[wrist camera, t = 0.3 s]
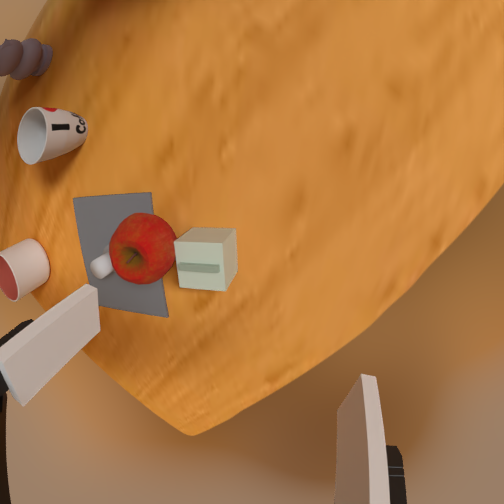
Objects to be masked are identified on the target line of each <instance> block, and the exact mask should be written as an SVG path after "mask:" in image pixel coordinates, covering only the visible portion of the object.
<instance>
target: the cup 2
mask: <svg viewBox="0 0 504 504" xmlns="http://www.w3.org/2000/svg"><path fill="white" fill-rule="evenodd" d="M87 133H88V125H87V122H86V120H85V119H84V118H83V117H81V116H79V115H77V114H75V113H73V112H69V111H65V110H61V109H57V108H43V107H32V108H30V109H29V110H28V111H27V112H26V113H25V114H24V116H23V117H22V120H21V122H20V125H19V129H18V136H17V144H18V150H19V153H20V156H21V158H22V159H23V161H24V162H25V163H27V164H35V163H38V162H42V161H46V160H49V159H53V158H56V157H58V156H60V155H63V154H66V153H68V152H70V151H72V150H74V149H75V148H77V147H79V146H80V145H82V144H83V143H84V141H85V140H86V137H87Z"/></svg>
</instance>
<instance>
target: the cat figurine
mask: <svg viewBox="0 0 504 504" xmlns="http://www.w3.org/2000/svg"><path fill="white" fill-rule="evenodd" d="M52 53H53V51H52V48H51V46H49V45H44V44H42V45H41V43H40V42H39V41H38V40H37V39H32V38H30V39H27V40H24V41H23V42H20V41H18V40H7V39H5V41H4V43H3V44H2V45H0V76H6V75H8V74H10V76H11V77H12V78H13V79H16V80H21V79H24V78H26V77H28V76H29V75H33V76H40V75H42V74H43V73H44V72H45V71H46V70H47V68H48V67H49V65H50V62H51V59H52Z"/></svg>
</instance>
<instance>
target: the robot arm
mask: <svg viewBox="0 0 504 504" xmlns="http://www.w3.org/2000/svg"><path fill="white" fill-rule="evenodd" d="M100 331H101V330H100V320H99V308H98V292H97V288H95V287H93V286H91V285H89V284H87V283H86V284H85V285H83V286H82V287H81V288H79V289H78V290H76V291H75V292H73V293H72V294H71V295H69V296H68V297H66V298H65V299H63V300H62V301H61V302H59V303H58V304H56V305H55V306H54V307H52V308H51V309H50V310H48V311H47V312H45V313H44V314H43V315H41V316H40V317H39V318H38V319H36V320H35V321H33V320H32V319H30V320H27V321H25V322H22V323H20V324H19V325H18V326H16V327H15V329H14V330H13V329H12V330H11V331H10V332H9V333H8V334H6V335H5V336H3V337H2V338H1V339H0V504H11V500H10V494H9V485H8V475H7V462H6V406H7V394H6V391H8V390H10V392H11V394H12V396H13V398H14V399H15V400H17V401H18V402H19V403H20V404H21V405H22V406H25V405H26V404H27V402H29V401H30V399H31V398H32V397H33V396H34V395H35V394H36V393H37V392H38V391H39V390H40V389H41V388H42V387H43V386H44V385H45V384H46V383H47V382H48V381H49V380H50V379H51V378H52V377H53V376H54V375H55V374H56V373H57V372H58V371H59V370H60V369H61V368H62V367H63V366H64V365H65V364H66V363H67V362H68V361H69V360H70V359H71V358H72V357H73V356H74V355H75V354H76V353H77V352H79V351H80V350H81V349H82V348H83V347H84V346H85V345H86V344H87V343H88V342H89V341H90V340H91V339H92V338H93V337H94V336H95V335H96V334H97V333H98V332H100ZM334 498H335V499H334V504H407V500H406V489H405V478H404V469H403V460H402V455H401V453H400V452H399V450H398V448H397V446H388V445H386V444H385V437H384V428H383V420H382V413H381V406H380V400H379V393H378V387H377V381H376V377H374V376H369V375H364V374H361V375H360V377H359V378H358V380H357V381H356V383H355V384H354V386H353V388H352V389H351V391H350V392H349V394H348V396H347V397H346V398H345V400H344V401H343V403H342V404H341V406H340V407H339V409H338V410H337V461H336V482H335V497H334Z"/></svg>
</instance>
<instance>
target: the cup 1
mask: <svg viewBox="0 0 504 504" xmlns="http://www.w3.org/2000/svg"><path fill="white" fill-rule="evenodd" d="M49 274H50V265H49V260H48V257H47V254H46V252H45V250H44V249H43V247H42V246H41V245H40V243H39V242H37V241H36V240H34V239H26V240H23V241H21V242H19V243H17V244H15V245H13V246H11V247H9V248H7V249H5V250H3V251H1V252H0V288H1V290H2V291H3V293H4V294H5V295H6V296H7V298H9V299H10V300H11V301H14V302H15V301H18V300H19V299H21V298H22V297H24V296H25V295H27V294H28V293H30V292H31V291H33V290H34V289H36V288H37V287H39V286H40V285H42V284H43V283H45V282H46V281H47V280H48V278H49Z"/></svg>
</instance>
